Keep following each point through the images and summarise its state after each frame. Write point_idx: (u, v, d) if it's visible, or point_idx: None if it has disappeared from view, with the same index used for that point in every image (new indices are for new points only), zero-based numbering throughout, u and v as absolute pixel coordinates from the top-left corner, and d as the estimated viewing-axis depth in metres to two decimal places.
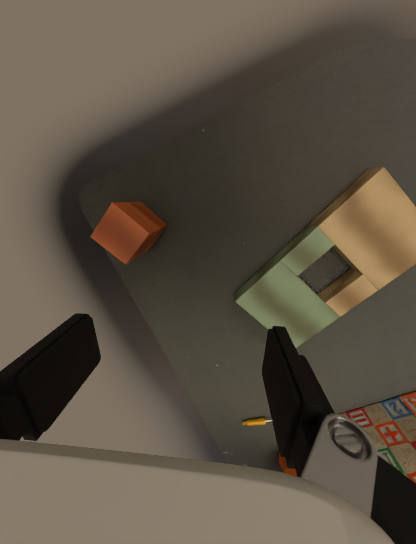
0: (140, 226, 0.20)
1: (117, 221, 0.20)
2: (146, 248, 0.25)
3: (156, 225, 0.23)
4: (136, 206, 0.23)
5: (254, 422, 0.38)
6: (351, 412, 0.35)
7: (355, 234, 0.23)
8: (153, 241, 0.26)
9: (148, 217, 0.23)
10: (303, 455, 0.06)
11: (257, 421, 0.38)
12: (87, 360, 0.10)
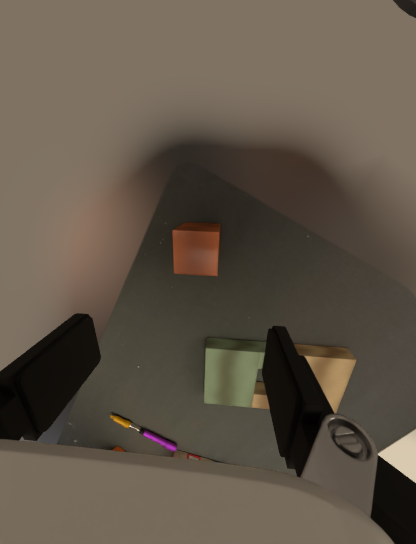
0: (217, 265, 0.20)
1: (206, 246, 0.19)
2: None
3: (218, 261, 0.23)
4: None
5: (120, 421, 0.40)
6: (191, 455, 0.43)
7: None
8: None
9: None
10: (303, 455, 0.06)
11: (123, 422, 0.40)
12: (87, 360, 0.10)
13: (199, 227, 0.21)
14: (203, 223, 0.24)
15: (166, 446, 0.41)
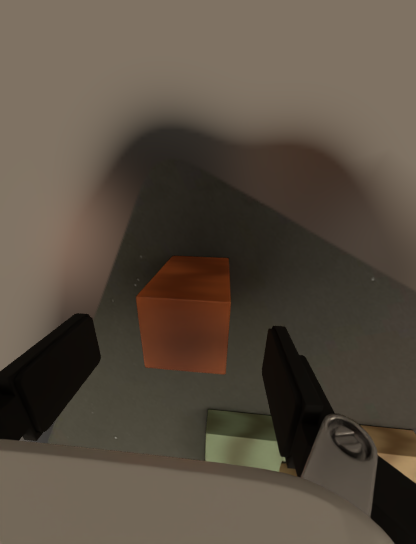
0: (226, 358, 0.10)
1: (204, 326, 0.10)
2: None
3: None
4: None
5: None
6: None
7: None
8: None
9: None
10: (303, 455, 0.06)
11: None
12: (87, 360, 0.10)
13: (192, 278, 0.11)
14: (200, 259, 0.15)
15: None
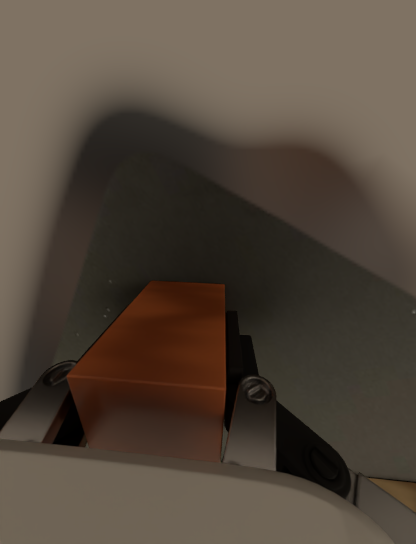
0: (219, 462, 0.06)
1: (182, 420, 0.06)
2: None
3: None
4: None
5: None
6: None
7: None
8: None
9: None
10: (226, 409, 0.07)
11: None
12: None
13: (169, 327, 0.08)
14: (187, 287, 0.11)
15: None
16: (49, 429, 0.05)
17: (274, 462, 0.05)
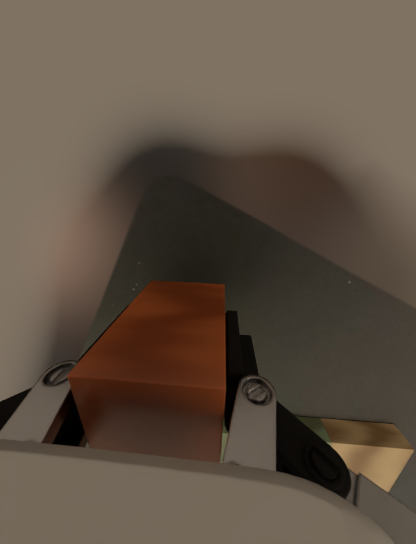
0: None
1: (182, 420, 0.06)
2: None
3: None
4: None
5: None
6: None
7: None
8: None
9: None
10: (226, 409, 0.07)
11: None
12: None
13: (169, 326, 0.08)
14: (187, 287, 0.11)
15: None
16: (49, 429, 0.05)
17: (274, 462, 0.05)
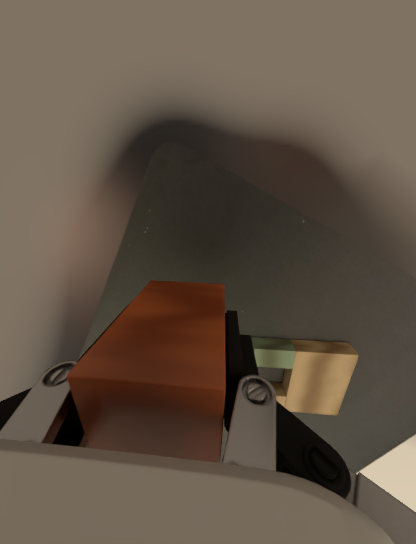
0: (219, 462, 0.06)
1: (182, 420, 0.06)
2: None
3: None
4: None
5: None
6: None
7: (308, 373, 0.28)
8: None
9: None
10: (226, 409, 0.07)
11: None
12: None
13: (169, 326, 0.08)
14: (187, 287, 0.11)
15: None
16: (49, 429, 0.05)
17: (274, 462, 0.05)
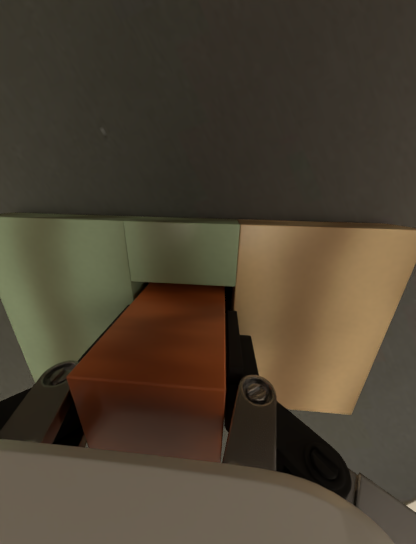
0: None
1: (182, 422, 0.06)
2: None
3: None
4: None
5: None
6: None
7: (277, 299, 0.10)
8: None
9: None
10: (227, 409, 0.07)
11: None
12: None
13: (169, 327, 0.08)
14: (187, 287, 0.11)
15: None
16: (49, 429, 0.05)
17: (274, 462, 0.05)
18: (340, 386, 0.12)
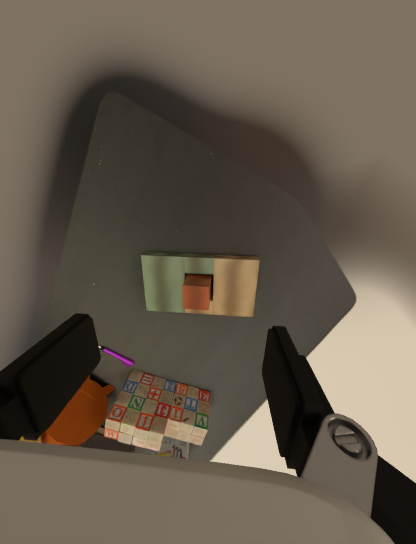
0: (208, 304, 0.34)
1: (202, 294, 0.33)
2: None
3: None
4: None
5: None
6: (146, 374, 0.50)
7: (225, 278, 0.36)
8: None
9: (210, 290, 0.37)
10: (303, 455, 0.06)
11: None
12: (87, 360, 0.10)
13: (198, 280, 0.35)
14: None
15: (124, 360, 0.48)
16: None
17: None
18: (247, 306, 0.38)
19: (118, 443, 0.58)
